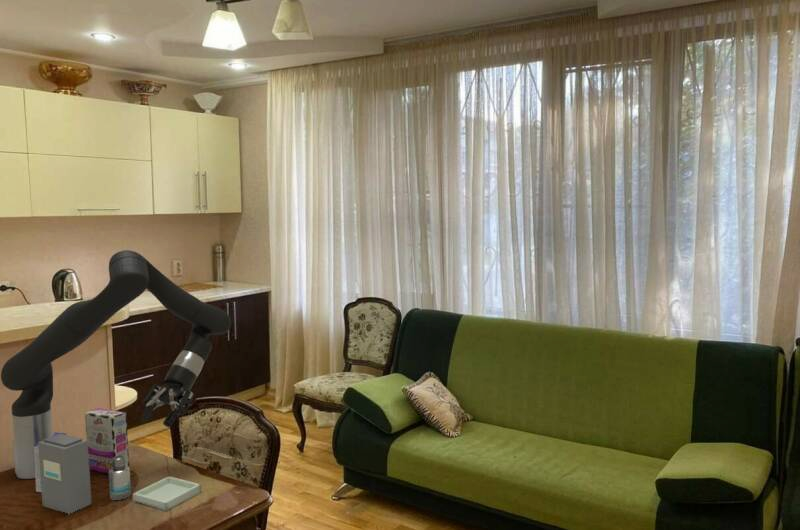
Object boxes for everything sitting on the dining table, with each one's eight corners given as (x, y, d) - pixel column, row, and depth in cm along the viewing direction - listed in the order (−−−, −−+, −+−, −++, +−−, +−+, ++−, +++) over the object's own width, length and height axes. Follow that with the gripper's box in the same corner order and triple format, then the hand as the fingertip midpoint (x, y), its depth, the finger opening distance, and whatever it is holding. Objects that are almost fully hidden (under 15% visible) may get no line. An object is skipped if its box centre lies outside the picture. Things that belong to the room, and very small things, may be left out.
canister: (105, 498, 162) (103, 459, 161) (122, 490, 166) (120, 452, 165) (118, 502, 159) (116, 462, 159) (135, 494, 164) (133, 455, 163)
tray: (133, 501, 160) (132, 493, 160) (169, 483, 170) (168, 476, 170) (166, 511, 154) (165, 503, 154) (201, 491, 164) (201, 484, 164)
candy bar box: (130, 469, 179) (127, 412, 178) (115, 476, 175) (112, 417, 173) (102, 463, 184) (99, 407, 183) (87, 470, 180) (83, 412, 178)
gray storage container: (41, 506, 158) (36, 440, 156) (65, 496, 164) (60, 432, 162) (67, 515, 153) (63, 447, 152) (91, 503, 159) (87, 438, 157)
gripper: (211, 380, 180) (182, 434, 171) (174, 375, 186) (144, 426, 177) (196, 366, 175) (165, 420, 166) (158, 361, 181) (126, 413, 172)
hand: (154, 423), depth 172 cm, fingers open, 8 cm apart
